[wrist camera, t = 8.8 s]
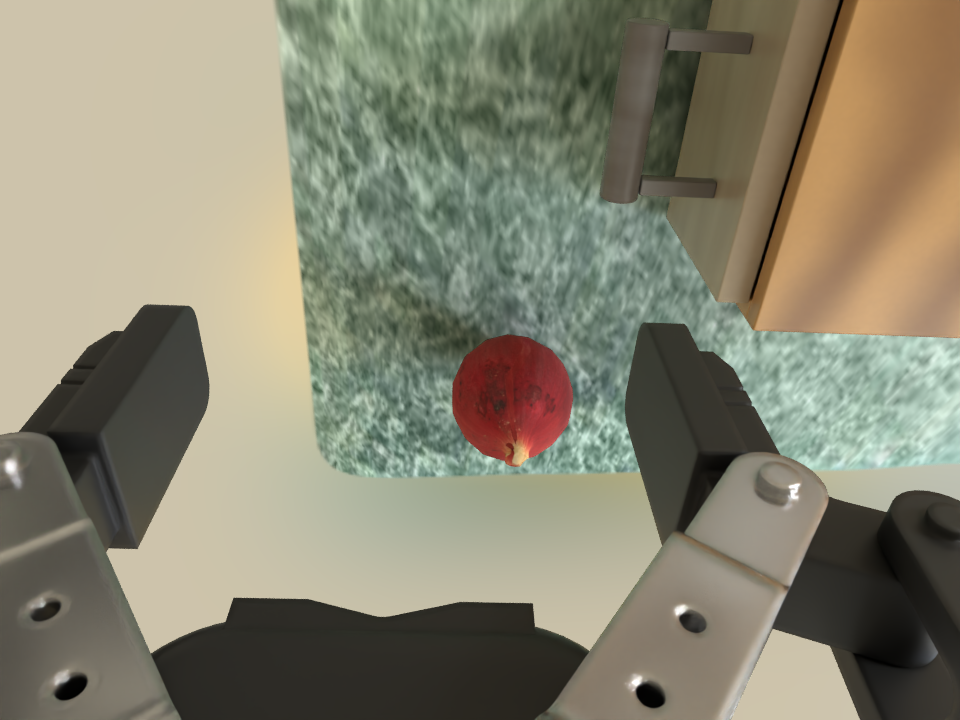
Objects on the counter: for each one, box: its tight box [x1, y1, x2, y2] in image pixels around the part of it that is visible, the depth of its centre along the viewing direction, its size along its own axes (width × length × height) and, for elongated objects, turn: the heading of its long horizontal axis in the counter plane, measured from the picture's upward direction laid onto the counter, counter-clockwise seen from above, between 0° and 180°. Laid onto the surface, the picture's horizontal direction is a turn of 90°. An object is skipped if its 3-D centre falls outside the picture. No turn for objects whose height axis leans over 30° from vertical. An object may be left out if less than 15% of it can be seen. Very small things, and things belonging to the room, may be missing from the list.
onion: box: [452, 334, 573, 467], centre depth 34 cm, size 6×6×8 cm
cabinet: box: [736, 0, 960, 338], centre depth 26 cm, size 15×13×10 cm
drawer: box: [600, 0, 844, 303], centre depth 26 cm, size 18×11×8 cm, turn 87°
